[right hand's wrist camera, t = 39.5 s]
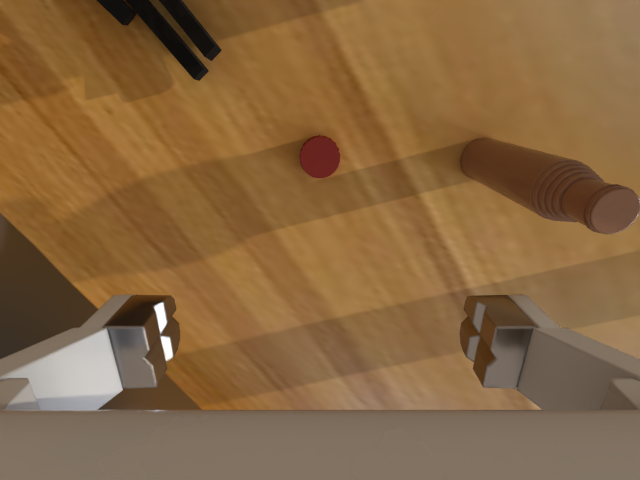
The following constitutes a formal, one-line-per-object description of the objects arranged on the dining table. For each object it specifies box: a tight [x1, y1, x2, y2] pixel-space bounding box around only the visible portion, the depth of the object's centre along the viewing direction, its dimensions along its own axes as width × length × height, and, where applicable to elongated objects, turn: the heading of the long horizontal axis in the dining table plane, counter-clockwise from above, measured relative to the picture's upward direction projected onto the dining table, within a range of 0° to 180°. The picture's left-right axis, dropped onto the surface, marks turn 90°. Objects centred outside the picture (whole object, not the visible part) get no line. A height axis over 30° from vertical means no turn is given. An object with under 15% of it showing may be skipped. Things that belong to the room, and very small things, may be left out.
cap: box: [300, 135, 340, 178], centre depth 36 cm, size 4×4×2 cm
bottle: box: [461, 138, 640, 234], centre depth 29 cm, size 4×4×18 cm
